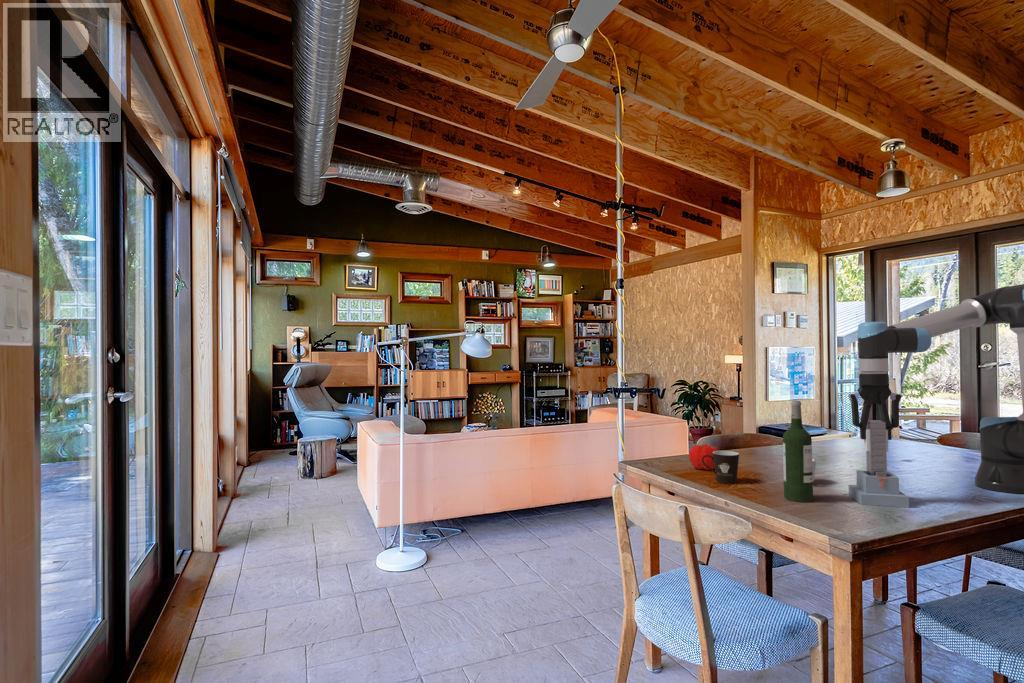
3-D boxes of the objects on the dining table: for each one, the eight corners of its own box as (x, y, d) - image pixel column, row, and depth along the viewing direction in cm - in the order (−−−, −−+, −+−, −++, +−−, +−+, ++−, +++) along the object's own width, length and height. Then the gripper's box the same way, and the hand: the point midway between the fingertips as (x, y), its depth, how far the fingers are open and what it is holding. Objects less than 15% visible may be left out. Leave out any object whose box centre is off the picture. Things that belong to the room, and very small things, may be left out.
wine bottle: (815, 503, 159) (812, 402, 159) (785, 501, 161) (783, 401, 162) (810, 496, 166) (808, 399, 167) (782, 494, 169) (780, 399, 170)
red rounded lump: (718, 473, 200) (717, 448, 200) (685, 469, 207) (685, 446, 207) (724, 467, 209) (723, 444, 209) (692, 464, 216) (692, 442, 216)
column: (882, 486, 162) (880, 420, 163) (888, 490, 158) (886, 422, 158) (867, 485, 163) (865, 420, 164) (872, 489, 159) (870, 421, 159)
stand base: (893, 496, 165) (892, 466, 165) (909, 507, 153) (908, 475, 154) (848, 494, 168) (847, 464, 168) (861, 504, 157) (860, 473, 157)
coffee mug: (745, 482, 185) (744, 453, 185) (730, 486, 180) (729, 456, 181) (715, 476, 195) (715, 448, 195) (700, 479, 190) (700, 451, 190)
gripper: (901, 372, 163) (904, 449, 162) (837, 372, 168) (840, 447, 167) (912, 373, 156) (914, 453, 155) (845, 373, 161) (847, 451, 160)
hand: (876, 450), depth 161 cm, fingers closed on column, 4 cm apart
